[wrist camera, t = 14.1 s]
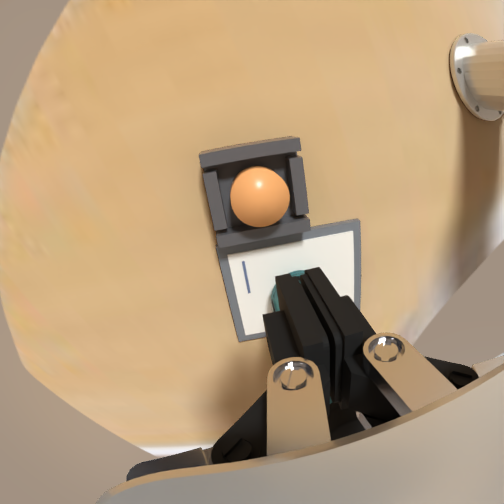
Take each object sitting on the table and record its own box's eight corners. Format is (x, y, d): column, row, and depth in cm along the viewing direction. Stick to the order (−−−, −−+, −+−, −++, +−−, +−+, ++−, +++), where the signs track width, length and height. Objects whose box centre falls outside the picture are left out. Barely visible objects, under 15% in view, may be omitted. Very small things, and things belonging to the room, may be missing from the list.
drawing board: (357, 218, 33) (361, 221, 32) (357, 311, 38) (360, 316, 37) (216, 244, 33) (216, 249, 32) (238, 337, 38) (239, 343, 37)
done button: (279, 161, 27) (285, 165, 24) (287, 213, 29) (293, 221, 26) (225, 171, 27) (225, 175, 24) (235, 223, 29) (236, 231, 26)
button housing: (290, 136, 29) (299, 137, 25) (301, 219, 32) (310, 230, 29) (201, 151, 28) (198, 154, 25) (218, 235, 32) (218, 248, 29)
